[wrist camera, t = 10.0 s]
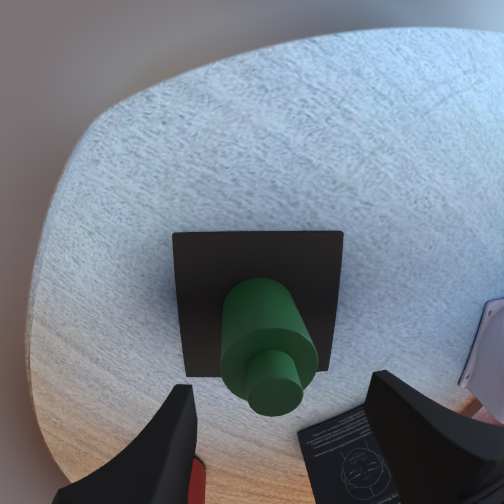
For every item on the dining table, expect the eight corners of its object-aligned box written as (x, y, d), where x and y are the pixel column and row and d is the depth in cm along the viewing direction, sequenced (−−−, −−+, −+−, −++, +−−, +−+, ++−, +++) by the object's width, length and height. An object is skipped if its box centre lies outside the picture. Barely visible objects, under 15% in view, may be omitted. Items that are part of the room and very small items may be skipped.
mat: (326, 366, 21) (328, 370, 20) (187, 372, 20) (186, 377, 20) (341, 230, 18) (344, 232, 18) (173, 232, 18) (171, 234, 17)
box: (313, 460, 24) (338, 549, 14) (295, 431, 23) (321, 535, 13) (388, 428, 24) (432, 508, 14) (381, 394, 22) (435, 486, 12)
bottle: (291, 339, 20) (322, 428, 12) (223, 342, 19) (222, 435, 12) (295, 276, 18) (337, 349, 11) (221, 277, 18) (216, 356, 10)
